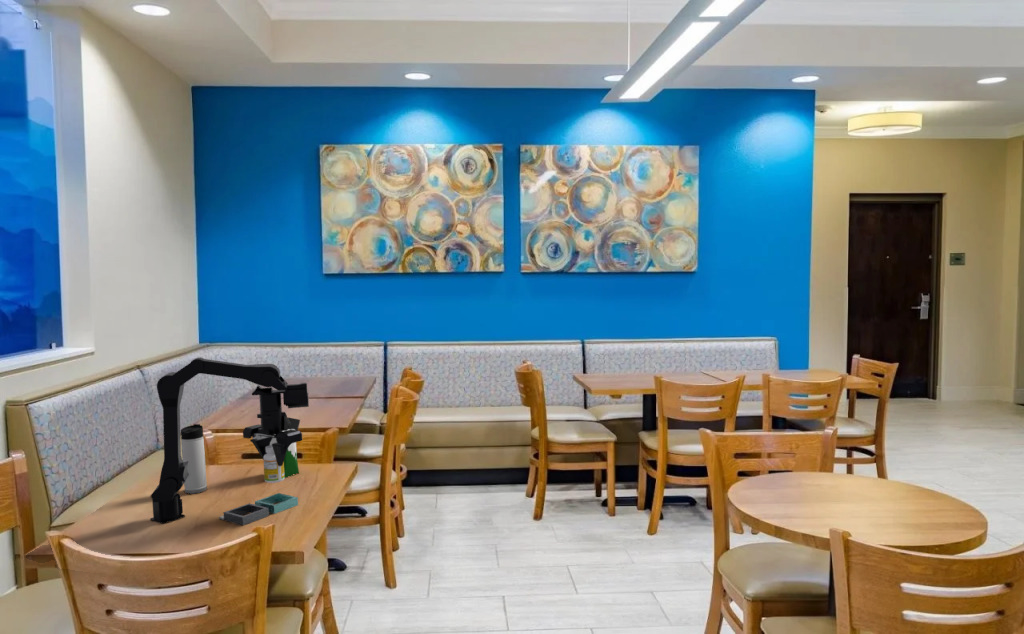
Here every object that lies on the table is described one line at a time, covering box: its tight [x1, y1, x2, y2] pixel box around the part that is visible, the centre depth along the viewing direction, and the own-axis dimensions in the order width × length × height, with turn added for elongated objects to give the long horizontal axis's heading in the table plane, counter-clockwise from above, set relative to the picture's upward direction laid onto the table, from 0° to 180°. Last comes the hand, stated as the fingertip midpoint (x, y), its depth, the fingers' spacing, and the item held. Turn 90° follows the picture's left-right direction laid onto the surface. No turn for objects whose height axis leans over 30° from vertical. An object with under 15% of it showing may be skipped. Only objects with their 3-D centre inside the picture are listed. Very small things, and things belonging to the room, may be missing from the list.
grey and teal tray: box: [218, 492, 299, 526], centre depth 201 cm, size 18×10×2 cm, turn 147°
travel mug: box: [180, 423, 208, 495], centre depth 221 cm, size 6×7×20 cm
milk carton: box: [270, 429, 300, 478], centre depth 235 cm, size 9×9×20 cm
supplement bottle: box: [262, 445, 286, 484], centre depth 204 cm, size 5×5×10 cm
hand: (273, 464), depth 204 cm, fingers closed on supplement bottle, 5 cm apart
